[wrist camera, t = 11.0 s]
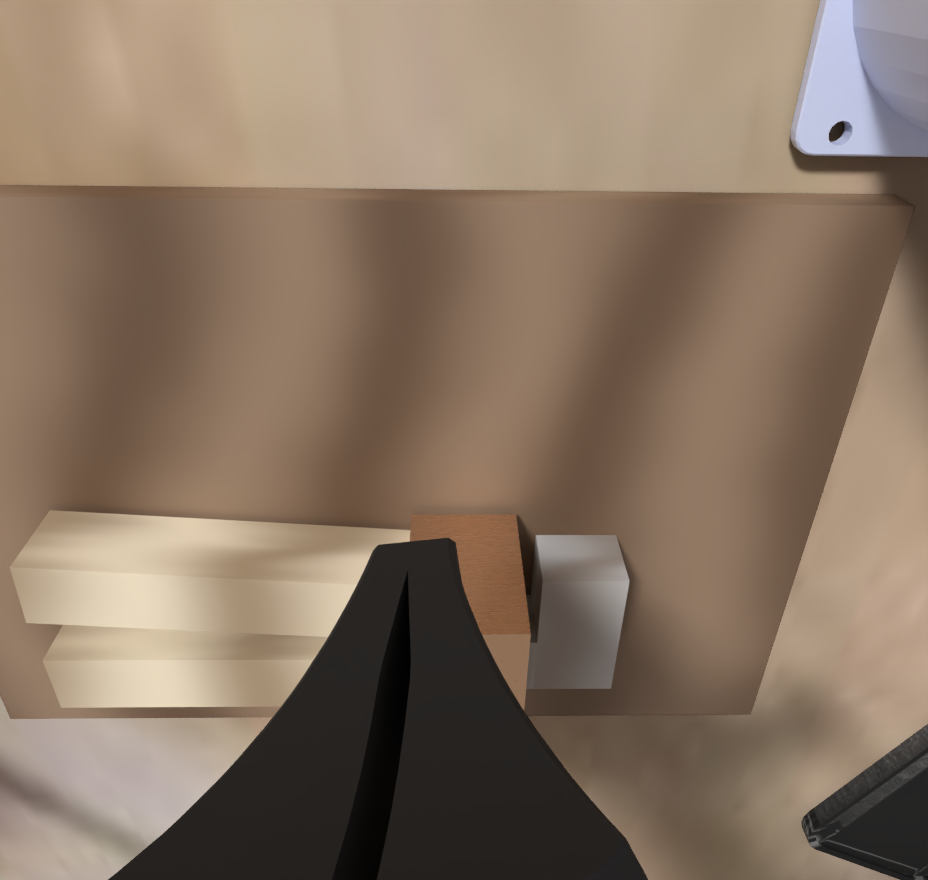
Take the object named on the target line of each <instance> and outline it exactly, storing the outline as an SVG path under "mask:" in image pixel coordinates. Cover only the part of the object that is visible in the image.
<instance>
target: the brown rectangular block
mask: <svg viewBox="0 0 928 880" xmlns="http://www.w3.org/2000/svg"><path fill="white" fill-rule="evenodd" d="M439 538H450V539H451V540H453V541H454V542H456V548H457V554H458V560H459V567H460V573H461V579H462V584H463V587H464V591H465V594H466V596H467V599H468V602H469V605H470V607H471V610H472V612H473V614H474V617H475V619H476V622H477V624H478V627H479V629H480V631H481V633H482V635H483V638H484V640H485V642H486V644H487V646H488V648H489V650H490V652H491V654H492V656H493V658H494V660H495V662H496V664H497V666H498V668H499V669H500V671H501V673H502V675H503V677H504V679H505V680H506V682H507V684H508V686H509V687H510V689H511V691H512V692H513V694H514V696H515V697H516V699H517V700H518V702H519V704H520V705H521V707H522V708H523V710H524V707H525V696H526V684H527V673H528V661H529V649H530V638H531V632H530V624H529V615H528V607H527V599H526V591H525V583H524V575H523V567H522V558H521V550H520V542H519V534H518V526H517V518H516V515H411V529H410V541H420V540H430V539H439Z"/></svg>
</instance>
